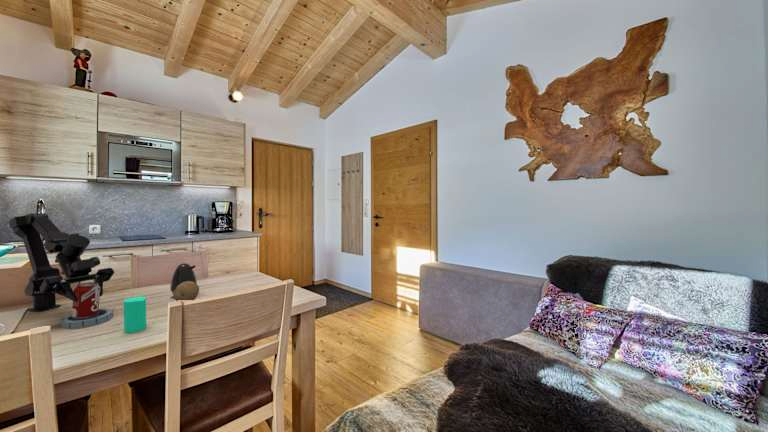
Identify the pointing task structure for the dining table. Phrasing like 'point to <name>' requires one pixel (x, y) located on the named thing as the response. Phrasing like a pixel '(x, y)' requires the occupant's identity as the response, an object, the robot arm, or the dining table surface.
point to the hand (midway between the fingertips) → (89, 298)
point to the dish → (87, 320)
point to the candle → (134, 314)
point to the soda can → (86, 300)
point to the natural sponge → (186, 291)
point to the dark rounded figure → (182, 275)
